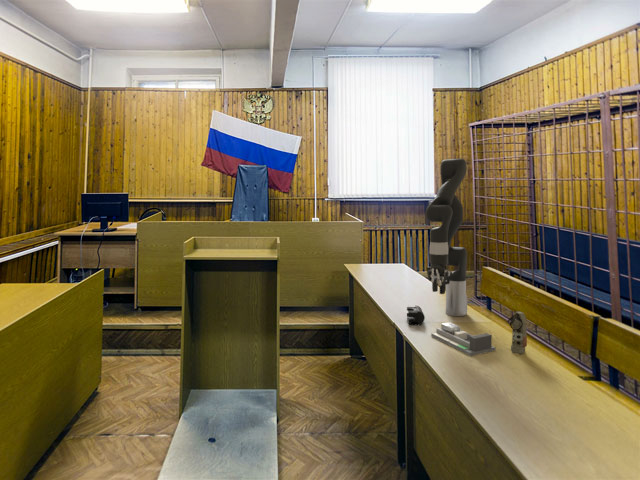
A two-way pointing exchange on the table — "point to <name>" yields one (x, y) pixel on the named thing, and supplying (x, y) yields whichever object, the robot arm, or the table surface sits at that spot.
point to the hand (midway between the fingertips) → (438, 292)
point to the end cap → (415, 315)
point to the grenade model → (518, 332)
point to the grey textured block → (450, 328)
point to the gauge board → (466, 342)
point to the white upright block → (461, 335)
